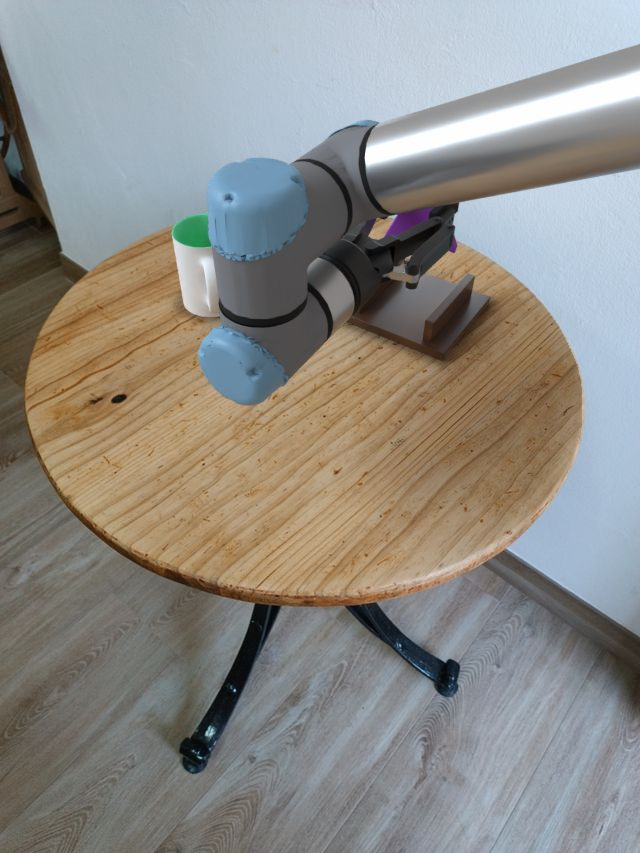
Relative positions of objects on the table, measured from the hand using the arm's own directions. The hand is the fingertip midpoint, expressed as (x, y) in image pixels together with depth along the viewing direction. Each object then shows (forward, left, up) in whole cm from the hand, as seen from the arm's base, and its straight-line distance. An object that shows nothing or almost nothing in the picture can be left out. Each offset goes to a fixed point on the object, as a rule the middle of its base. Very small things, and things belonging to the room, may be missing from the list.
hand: (432, 192), depth 81 cm
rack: (0, +2, -16) cm, 16 cm away
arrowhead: (0, +2, -6) cm, 6 cm away
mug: (+22, +16, -16) cm, 32 cm away
